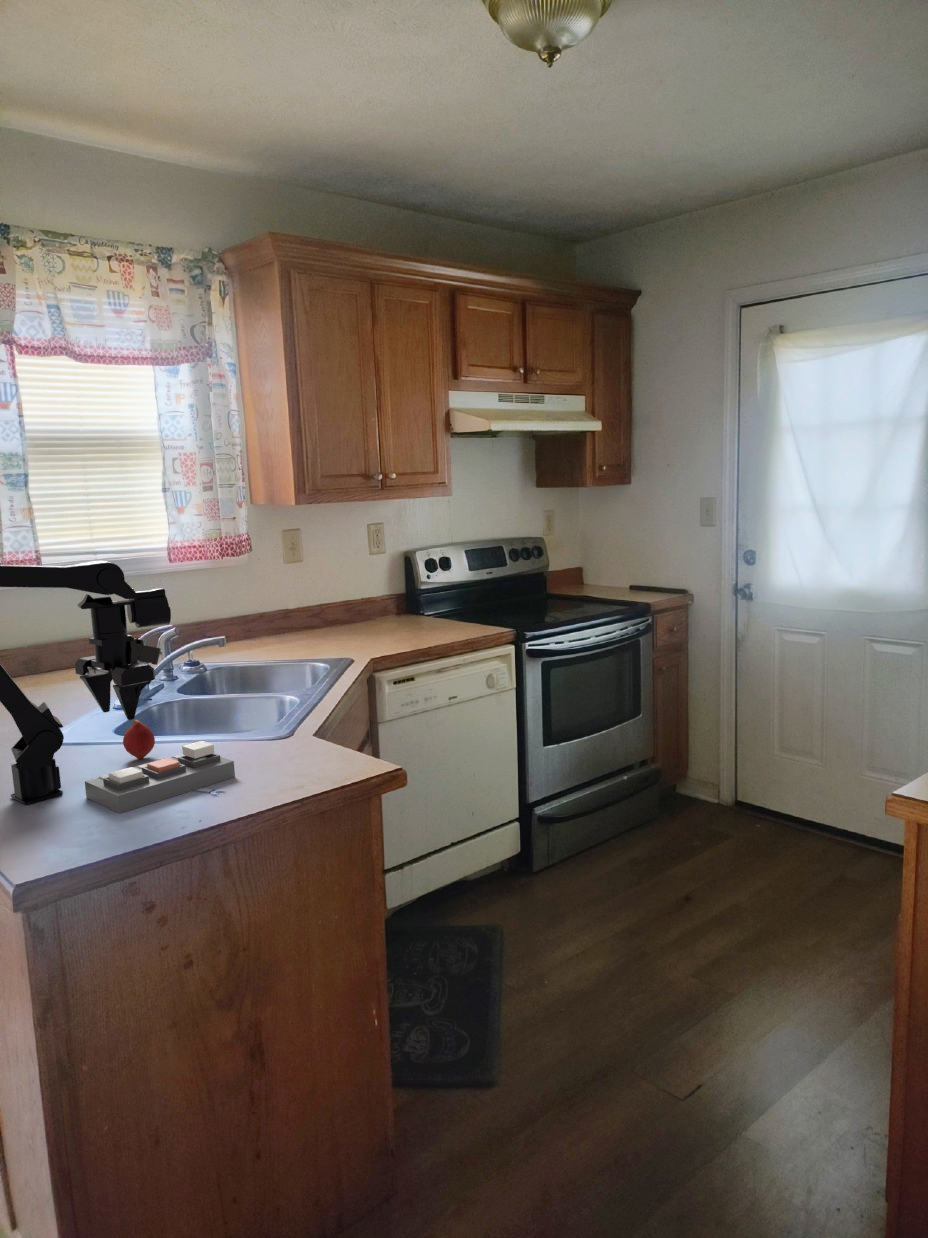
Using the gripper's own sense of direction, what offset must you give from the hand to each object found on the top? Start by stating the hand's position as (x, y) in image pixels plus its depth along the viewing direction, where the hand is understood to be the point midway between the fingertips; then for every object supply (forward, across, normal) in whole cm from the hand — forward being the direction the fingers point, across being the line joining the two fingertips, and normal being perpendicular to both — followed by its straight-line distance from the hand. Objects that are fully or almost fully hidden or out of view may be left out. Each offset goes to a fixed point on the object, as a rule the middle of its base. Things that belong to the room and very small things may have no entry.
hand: (118, 715), depth 156 cm
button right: (+8, -11, -9) cm, 16 cm away
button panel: (+12, -10, -2) cm, 16 cm away
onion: (+12, +9, -8) cm, 17 cm away
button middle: (+9, -11, -2) cm, 14 cm away
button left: (+9, -11, +5) cm, 15 cm away
